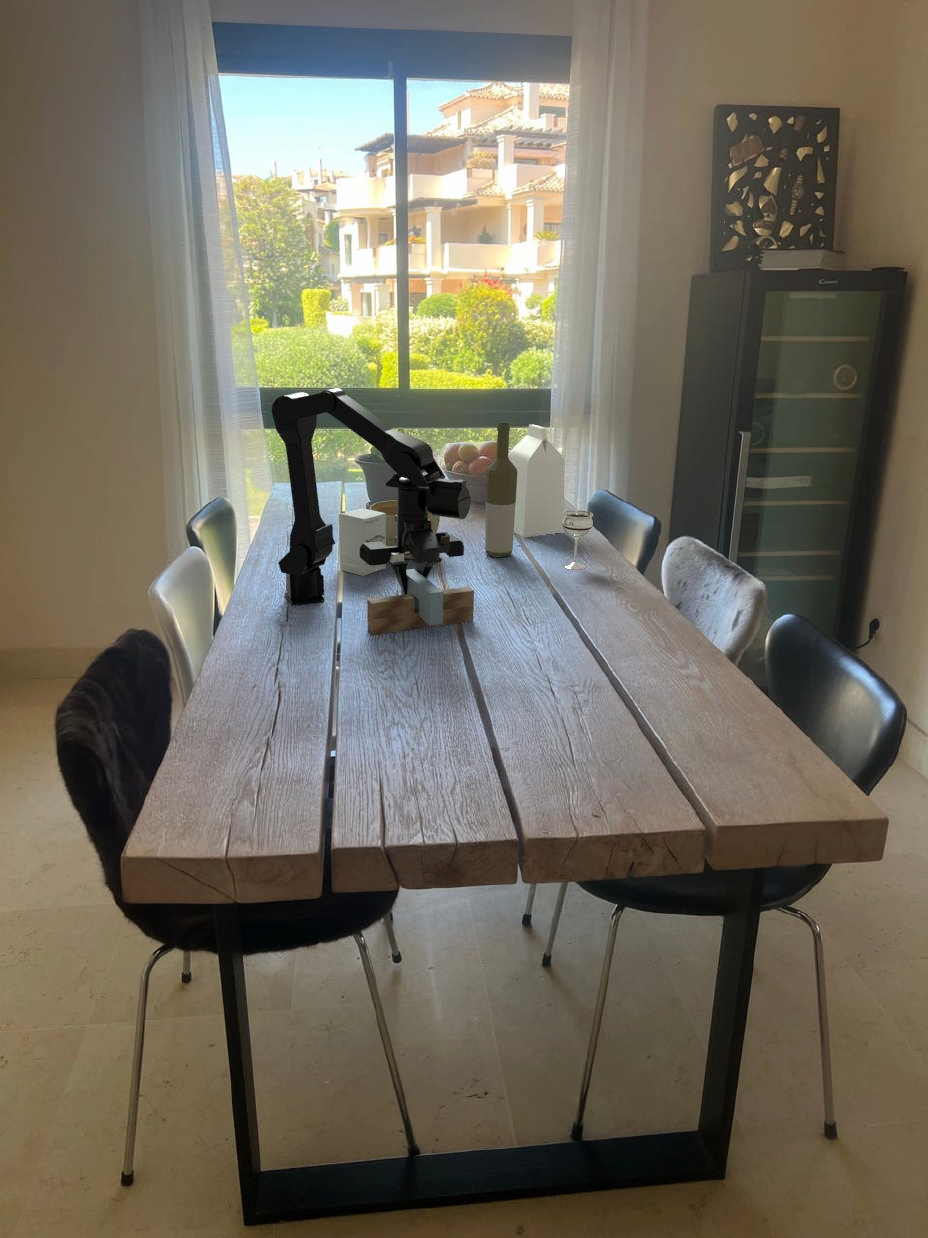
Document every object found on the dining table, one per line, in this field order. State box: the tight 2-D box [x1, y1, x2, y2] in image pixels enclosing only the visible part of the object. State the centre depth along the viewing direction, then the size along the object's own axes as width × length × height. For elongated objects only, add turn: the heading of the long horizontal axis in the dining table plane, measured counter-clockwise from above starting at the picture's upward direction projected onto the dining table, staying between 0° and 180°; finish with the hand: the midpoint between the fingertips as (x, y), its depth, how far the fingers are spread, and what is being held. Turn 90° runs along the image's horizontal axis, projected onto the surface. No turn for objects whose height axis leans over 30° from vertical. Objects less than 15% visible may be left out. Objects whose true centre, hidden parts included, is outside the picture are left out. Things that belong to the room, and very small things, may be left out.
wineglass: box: [562, 509, 594, 570], centre depth 209 cm, size 7×7×12 cm
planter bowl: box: [369, 499, 441, 560], centre depth 215 cm, size 16×16×11 cm
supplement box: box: [338, 508, 387, 577], centre depth 203 cm, size 7×7×13 cm
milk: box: [508, 423, 566, 538], centre depth 235 cm, size 12×12×26 cm
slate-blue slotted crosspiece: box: [400, 568, 443, 625], centre depth 172 cm, size 14×2×6 cm, turn 25°
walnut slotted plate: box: [366, 586, 475, 636], centre depth 173 cm, size 20×2×6 cm, turn 115°
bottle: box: [484, 422, 518, 558], centre depth 213 cm, size 7×7×30 cm
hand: (412, 593), depth 176 cm, fingers closed on slate-blue slotted crosspiece, 2 cm apart
